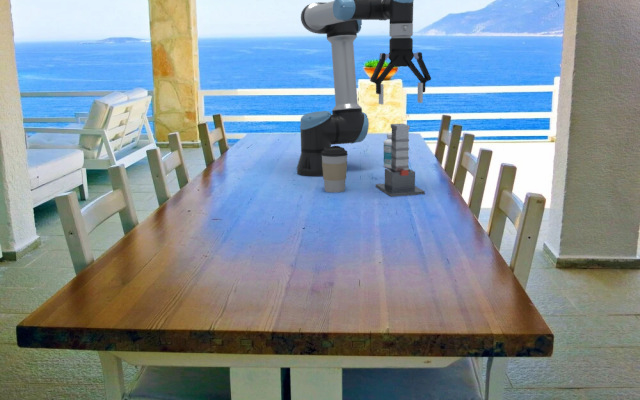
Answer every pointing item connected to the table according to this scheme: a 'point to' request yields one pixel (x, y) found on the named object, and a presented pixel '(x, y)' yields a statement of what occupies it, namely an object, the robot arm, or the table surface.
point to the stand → (400, 183)
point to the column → (399, 147)
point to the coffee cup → (334, 168)
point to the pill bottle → (388, 151)
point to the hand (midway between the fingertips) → (400, 103)
